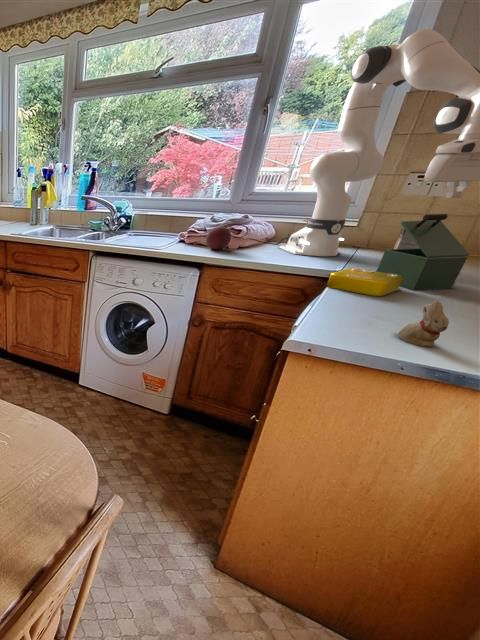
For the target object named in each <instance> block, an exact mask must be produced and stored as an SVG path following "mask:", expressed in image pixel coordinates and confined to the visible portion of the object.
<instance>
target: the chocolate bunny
mask: <svg viewBox="0 0 480 640" xmlns="http://www.w3.org/2000/svg"><path fill="white" fill-rule="evenodd" d="M422 313H423V315H422V316H423V317H422V318H421V320H420V321H416V322H412V323H407V324H406V325H405V326H404V327H403V328H402V329H400V331H399V332H398V333H397V334H398V335H397V337H398V338H399V339H401V340H402V341H404V342H407V343H410V344H413V345H415V346H421V347H427V348H429V347H430V348H432V347H433V346H434V345H435V341H437V340H438V339H439V338H440V335H441V333H442V332H445V331H446V330H447V329H448V327H449V323H450V319H449V318H448V317H447V315H445V313H444V305H442V303H441V301H439V300H436V301H434V302H432V303H429V304H428V303H427V304H424V306H423V308H422Z"/></svg>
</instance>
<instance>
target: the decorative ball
mask: <svg viewBox="0 0 480 640" xmlns="http://www.w3.org/2000/svg"><path fill="white" fill-rule="evenodd" d="M231 239H232V233H231V231H230V229H229V228H227V227H225V226H216V227H213V228H211V230H209V231H208V233H207V235H206V237H205V244H206V245H207V247H209V249H211V250H215V251H216V250H217V251H218V250H221V249H224V248H226V247H227V246H228V245H229V244H230V242H231Z"/></svg>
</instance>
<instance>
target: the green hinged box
mask: <svg viewBox="0 0 480 640" xmlns="http://www.w3.org/2000/svg"><path fill="white" fill-rule="evenodd" d="M467 260H468V256H467V257H442V258H427V257H426V255H425V254H424V253H423V252H422V250H421V249H420V248H412V249H394V248H391V249H385V250H384V252H383V254H382V257H381V260H380V262H379V263H378V266H377V268H376V271H377V272H383V273H390V274H396V275H402V276H403V280H402V282H401V284H400V287H402V288H405V289H408V290H412V291H421V290H445V289H448V290H449V289H453V287H454V285H455V283H456V281H457V279H458V277H459V275H460V273H461V271H462V269H463V267H464V266H465V263H466V261H467Z"/></svg>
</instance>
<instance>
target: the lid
mask: <svg viewBox="0 0 480 640" xmlns="http://www.w3.org/2000/svg"><path fill="white" fill-rule="evenodd" d="M448 216H449V215H448V214H447V213H431V214H430V213H429V214H425V215H423V217H422V219H421V220H409V221H401V222H400V225H401V226H402V227H404V229H405V230H406V231H407V232H408V234H409V235H410V236H411V238H412V239H413V240H414V241H415V243H416V244H417V245H418V246H419V248H420V249H421V250H422V252H423V253H424V254H425V255H426V257H427V258H442V257H467V258H468V257H469V256H470V253H469V252H468V250H467V249H466V248H465V247H464V246H463V245H462V244H461V243H460V241H459V240H458V239H457V238H456V237H455V236H454V234H453V233H452V232H451V230H449V229H448V227H447V226H446V225H445V224H444V222H443V221H445V220H446V219H447V218H448Z"/></svg>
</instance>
